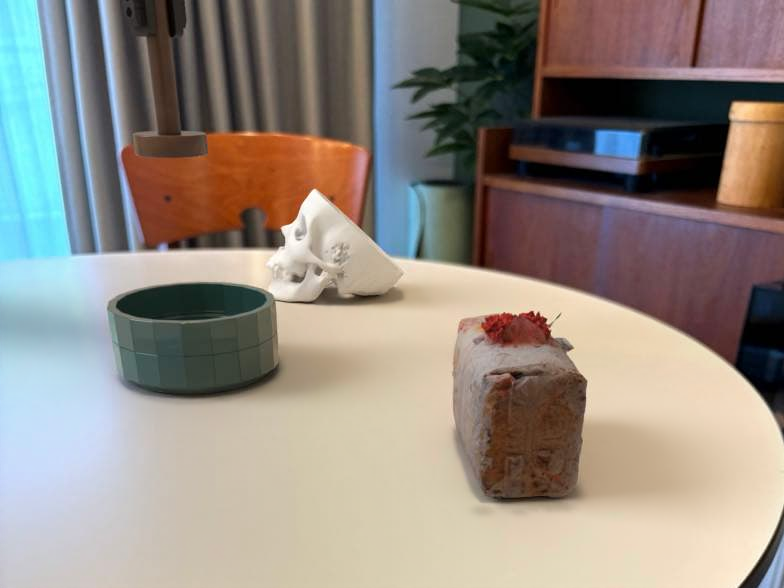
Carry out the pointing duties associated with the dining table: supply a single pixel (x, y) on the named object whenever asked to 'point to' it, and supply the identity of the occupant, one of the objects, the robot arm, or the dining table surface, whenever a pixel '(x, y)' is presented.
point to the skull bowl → (328, 256)
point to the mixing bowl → (194, 336)
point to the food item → (518, 405)
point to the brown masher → (166, 101)
